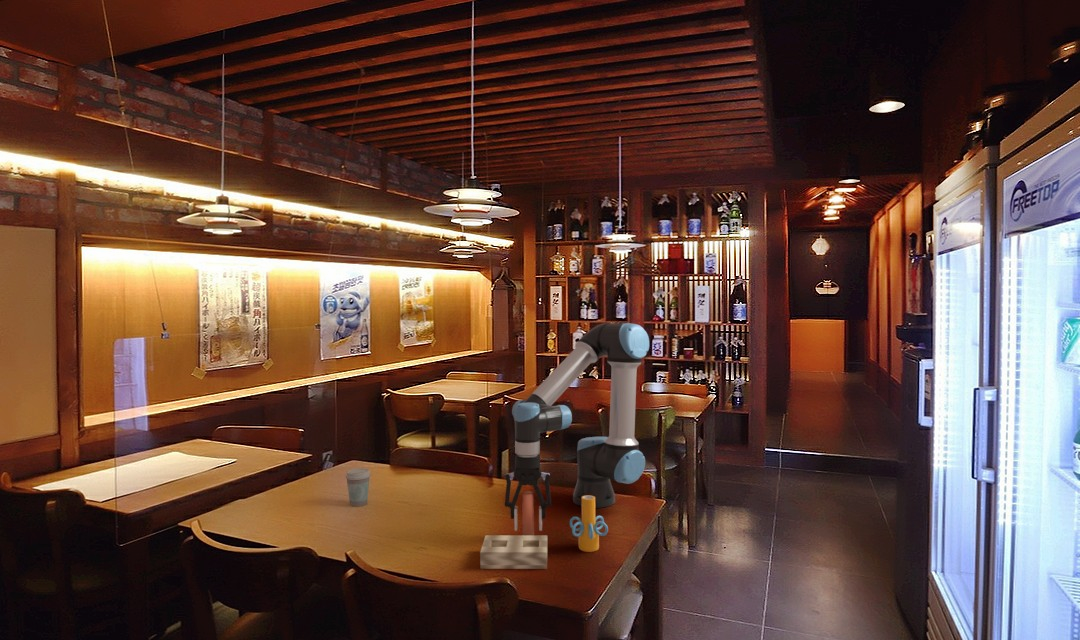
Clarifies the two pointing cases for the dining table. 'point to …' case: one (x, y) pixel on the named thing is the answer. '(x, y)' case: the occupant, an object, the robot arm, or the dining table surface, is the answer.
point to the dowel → (528, 513)
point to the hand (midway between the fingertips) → (528, 528)
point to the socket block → (514, 552)
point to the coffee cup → (358, 486)
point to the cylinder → (588, 526)
